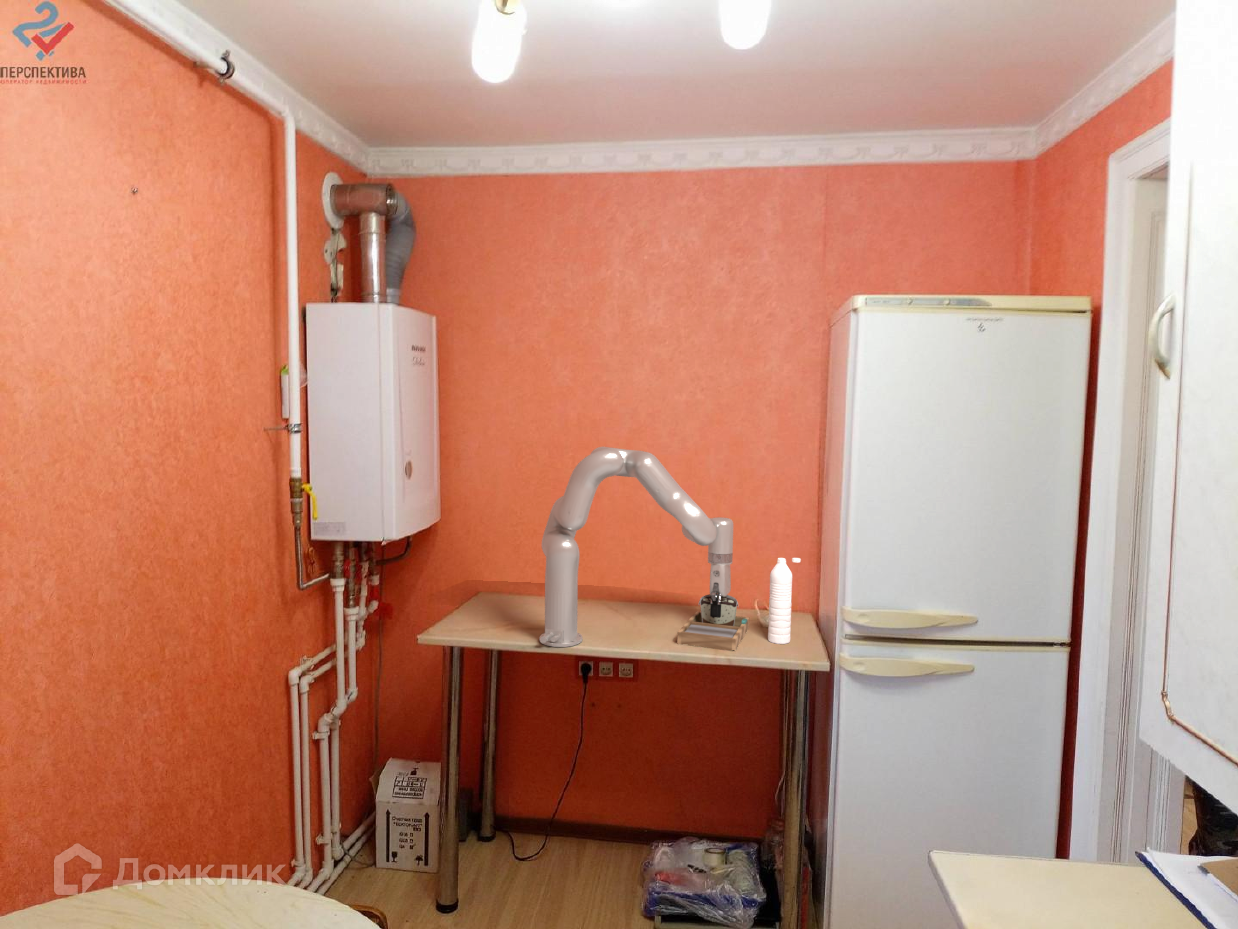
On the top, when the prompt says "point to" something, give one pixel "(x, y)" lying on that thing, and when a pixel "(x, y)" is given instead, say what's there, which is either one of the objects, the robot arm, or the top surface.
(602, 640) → the top surface
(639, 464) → the robot arm
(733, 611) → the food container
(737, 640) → the compartment tray
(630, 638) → the top surface
